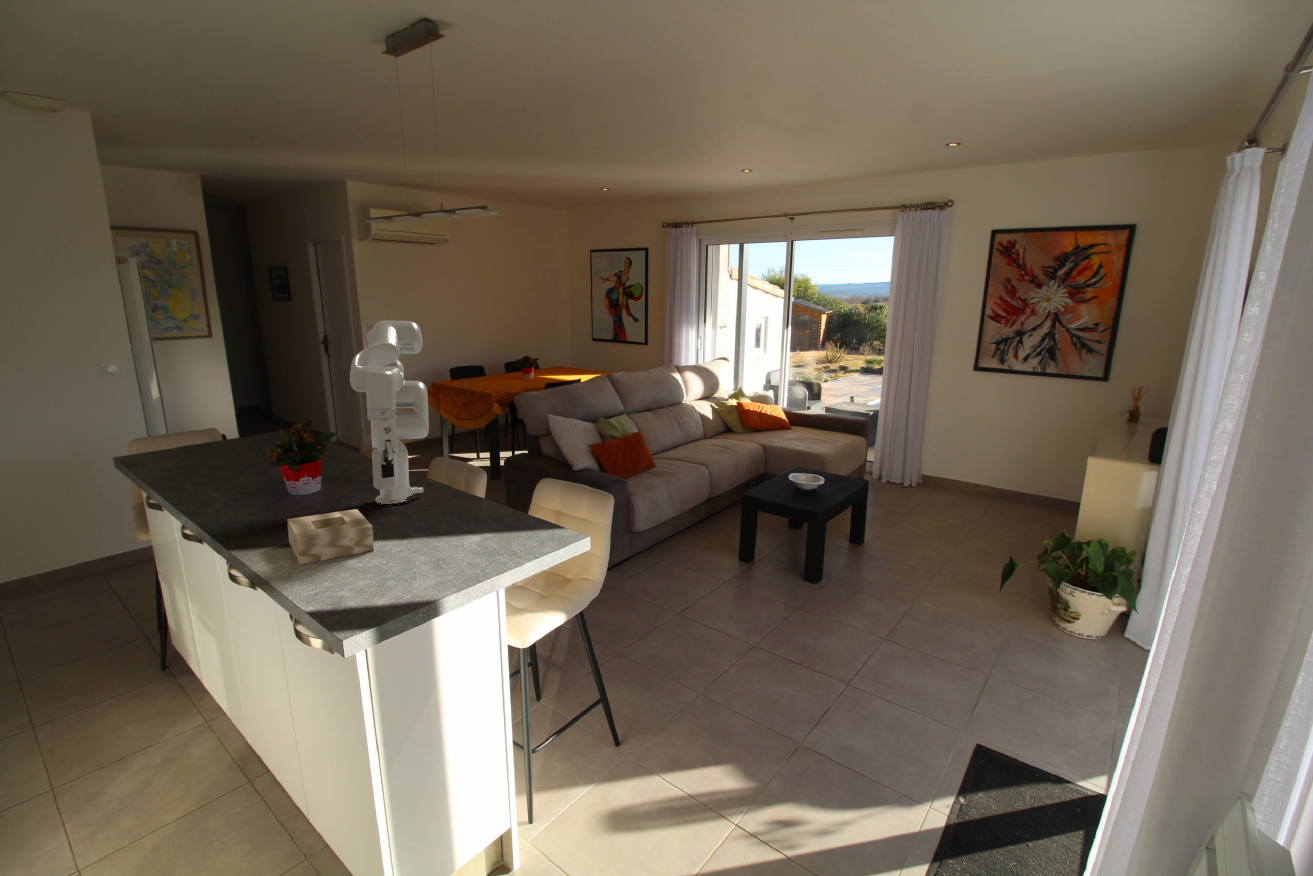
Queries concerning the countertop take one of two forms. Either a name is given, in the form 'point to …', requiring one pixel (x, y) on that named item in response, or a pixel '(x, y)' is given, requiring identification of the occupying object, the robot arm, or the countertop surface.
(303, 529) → the holder block
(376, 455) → the beverage can
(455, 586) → the countertop surface
